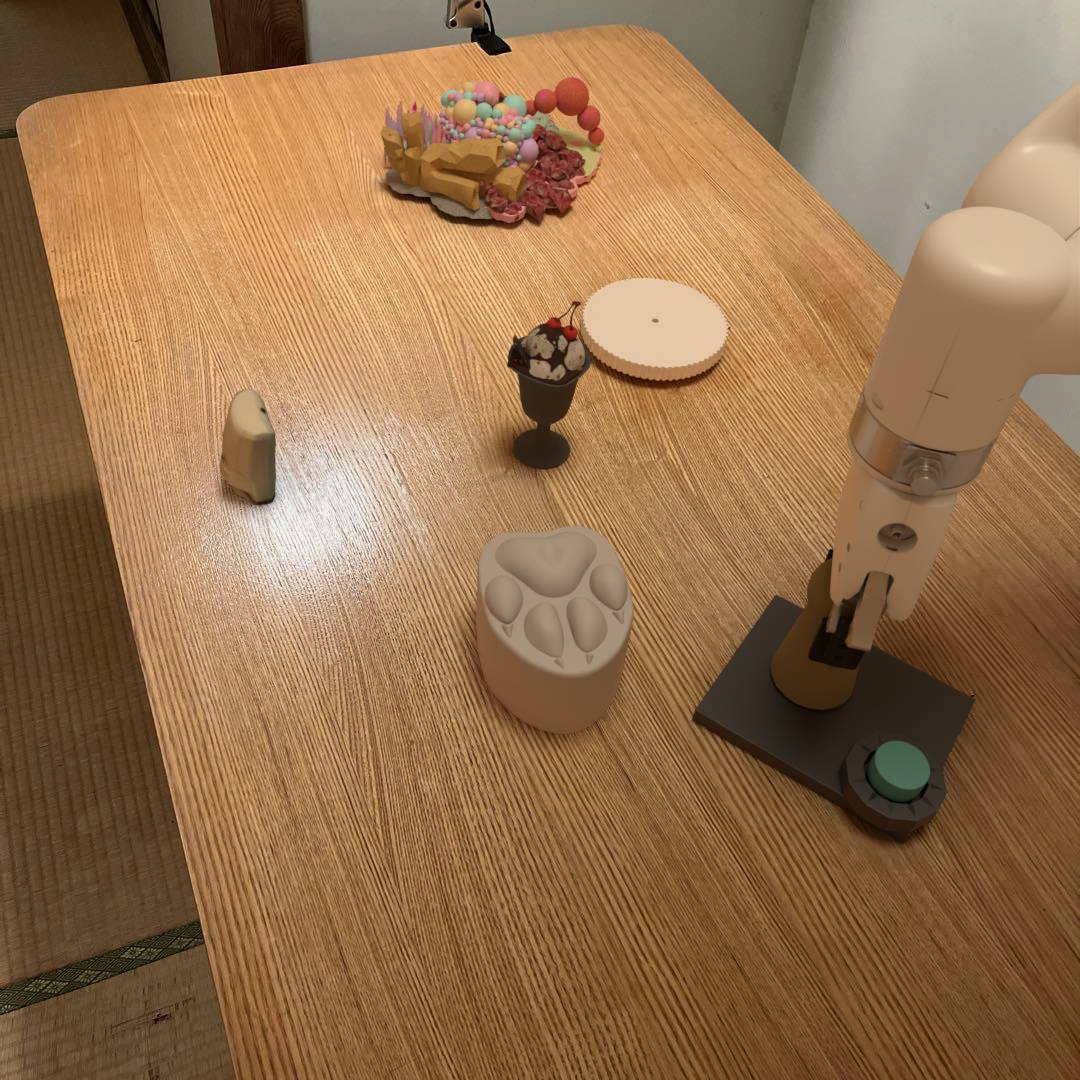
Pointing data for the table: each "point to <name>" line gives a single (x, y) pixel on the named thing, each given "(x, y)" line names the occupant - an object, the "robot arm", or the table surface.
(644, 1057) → the table surface
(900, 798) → the scale button
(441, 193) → the candy landscape model
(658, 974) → the table surface
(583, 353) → the sundae
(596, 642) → the lumpy-topped squat cylinder
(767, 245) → the table surface
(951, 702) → the scale
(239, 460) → the tan tall rounded block
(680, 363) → the plastic lid
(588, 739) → the table surface
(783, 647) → the brown game pawn
